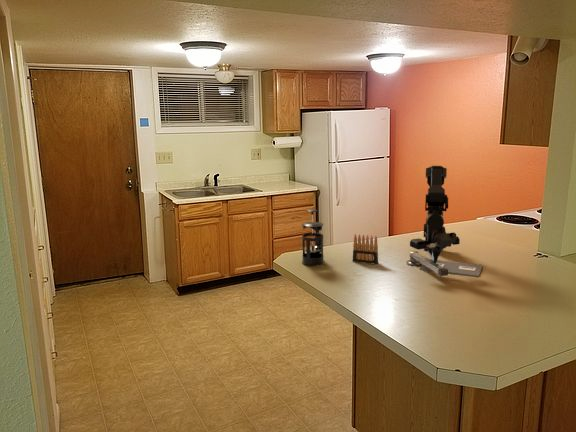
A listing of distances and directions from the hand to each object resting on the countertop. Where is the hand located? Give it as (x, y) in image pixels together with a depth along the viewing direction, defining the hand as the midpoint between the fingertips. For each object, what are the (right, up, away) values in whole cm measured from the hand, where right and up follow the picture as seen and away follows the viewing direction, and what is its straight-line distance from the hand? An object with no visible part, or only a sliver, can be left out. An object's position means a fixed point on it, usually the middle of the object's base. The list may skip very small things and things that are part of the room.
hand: (434, 263), depth 182 cm
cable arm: (-2, -1, +2) cm, 3 cm away
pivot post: (-4, -1, +13) cm, 14 cm away
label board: (+9, -3, +7) cm, 11 cm away
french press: (-46, -2, +18) cm, 50 cm away
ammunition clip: (-24, -1, +17) cm, 29 cm away
